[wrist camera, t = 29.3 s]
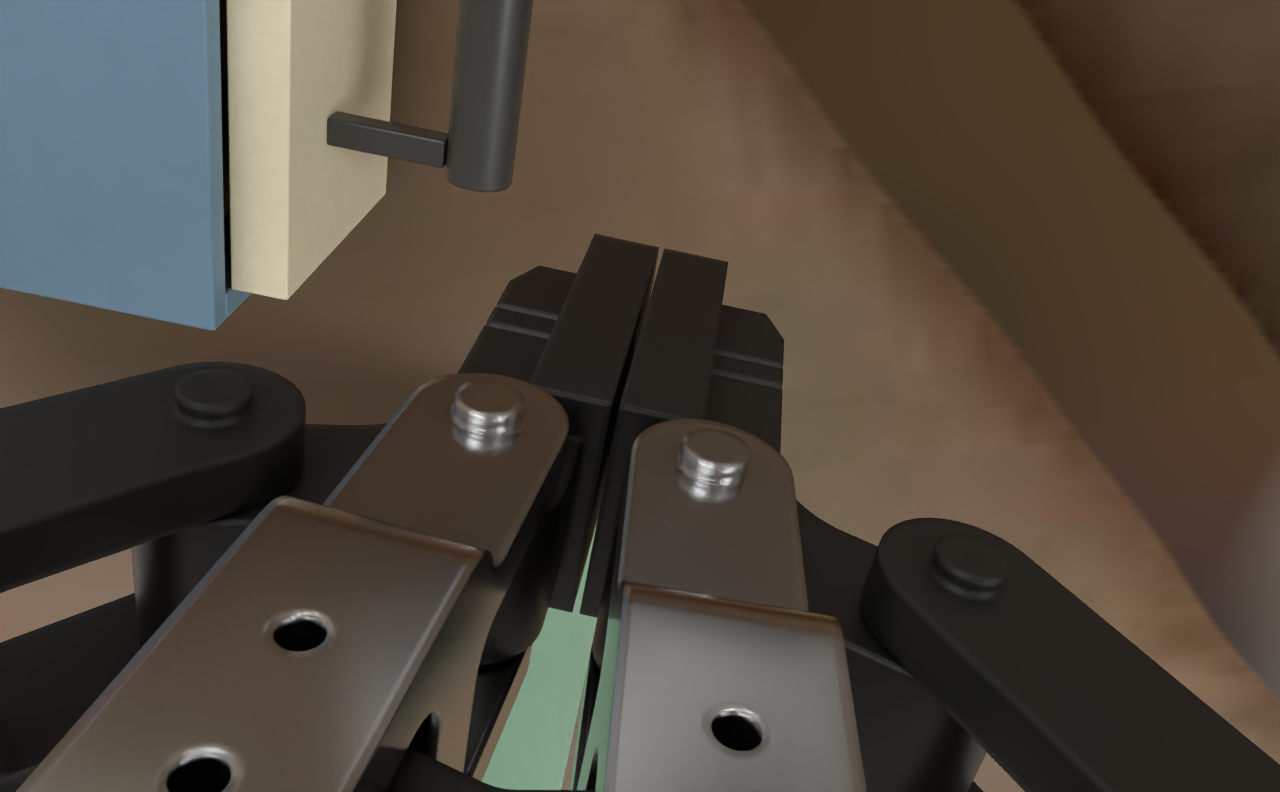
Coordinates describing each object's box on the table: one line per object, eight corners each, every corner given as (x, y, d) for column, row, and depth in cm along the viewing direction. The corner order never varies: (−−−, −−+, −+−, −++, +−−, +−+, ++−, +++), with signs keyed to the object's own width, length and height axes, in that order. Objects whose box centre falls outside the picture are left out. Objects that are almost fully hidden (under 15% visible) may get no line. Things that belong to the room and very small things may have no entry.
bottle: (563, 365, 31) (370, 894, 17) (661, 479, 33) (562, 1057, 18) (444, 441, 33) (175, 982, 18) (542, 547, 35) (366, 1124, 20)
